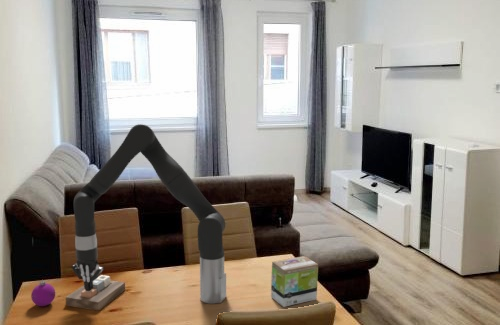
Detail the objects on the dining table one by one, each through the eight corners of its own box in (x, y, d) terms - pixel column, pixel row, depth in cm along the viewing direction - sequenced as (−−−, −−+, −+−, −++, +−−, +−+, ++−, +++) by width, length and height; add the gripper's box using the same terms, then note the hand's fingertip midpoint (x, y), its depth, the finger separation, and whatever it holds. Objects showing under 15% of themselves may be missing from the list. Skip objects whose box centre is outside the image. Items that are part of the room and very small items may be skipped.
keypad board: (125, 289, 188) (124, 282, 187) (98, 310, 171) (98, 302, 170) (94, 285, 192) (94, 278, 191) (66, 305, 174) (65, 297, 174)
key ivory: (110, 283, 186) (110, 275, 186) (104, 288, 182) (104, 279, 182) (101, 282, 187) (101, 274, 187) (95, 286, 183) (95, 278, 183)
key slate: (103, 288, 182) (103, 280, 181) (97, 292, 178) (97, 284, 178) (94, 287, 183) (94, 279, 182) (88, 291, 179) (88, 283, 179)
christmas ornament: (34, 301, 178) (32, 276, 176) (57, 298, 180) (55, 274, 178) (30, 311, 170) (28, 285, 168) (54, 308, 172) (52, 282, 170)
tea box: (284, 308, 173) (284, 270, 170) (270, 297, 182) (270, 261, 179) (317, 299, 180) (318, 263, 177) (303, 289, 188) (303, 254, 186)
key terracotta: (97, 296, 178) (96, 288, 177) (90, 301, 174) (90, 293, 174) (88, 295, 179) (87, 287, 178) (81, 300, 175) (81, 291, 175)
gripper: (107, 244, 175) (109, 288, 178) (77, 240, 179) (79, 283, 181) (95, 251, 168) (98, 296, 171) (64, 247, 171) (67, 292, 174)
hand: (88, 290), depth 176 cm, fingers closed
